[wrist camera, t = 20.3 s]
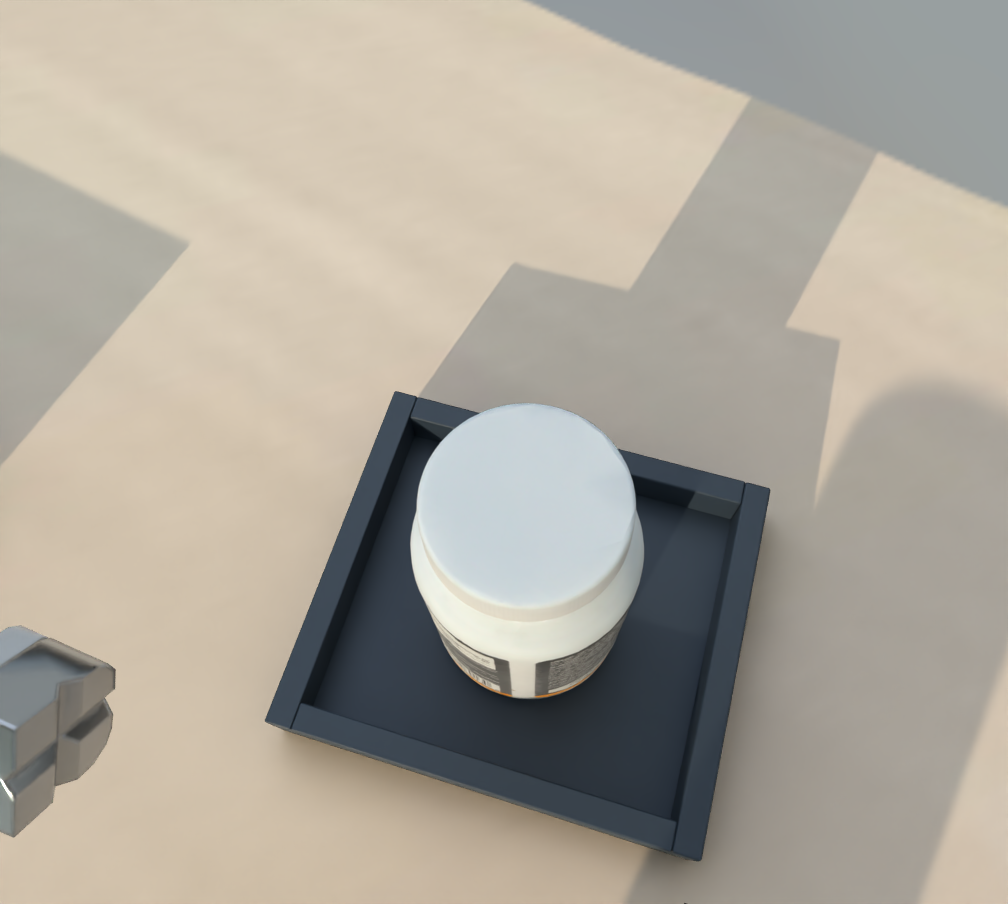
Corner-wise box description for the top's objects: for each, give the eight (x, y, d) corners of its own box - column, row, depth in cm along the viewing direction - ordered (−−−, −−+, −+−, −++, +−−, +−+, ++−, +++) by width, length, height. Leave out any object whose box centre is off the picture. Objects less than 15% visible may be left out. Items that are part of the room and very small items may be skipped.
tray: (755, 510, 29) (771, 487, 27) (688, 860, 25) (701, 862, 23) (402, 416, 31) (394, 390, 29) (282, 729, 26) (263, 721, 24)
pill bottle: (603, 516, 28) (640, 365, 19) (631, 694, 26) (687, 618, 17) (431, 533, 28) (386, 390, 19) (443, 714, 26) (399, 647, 17)
